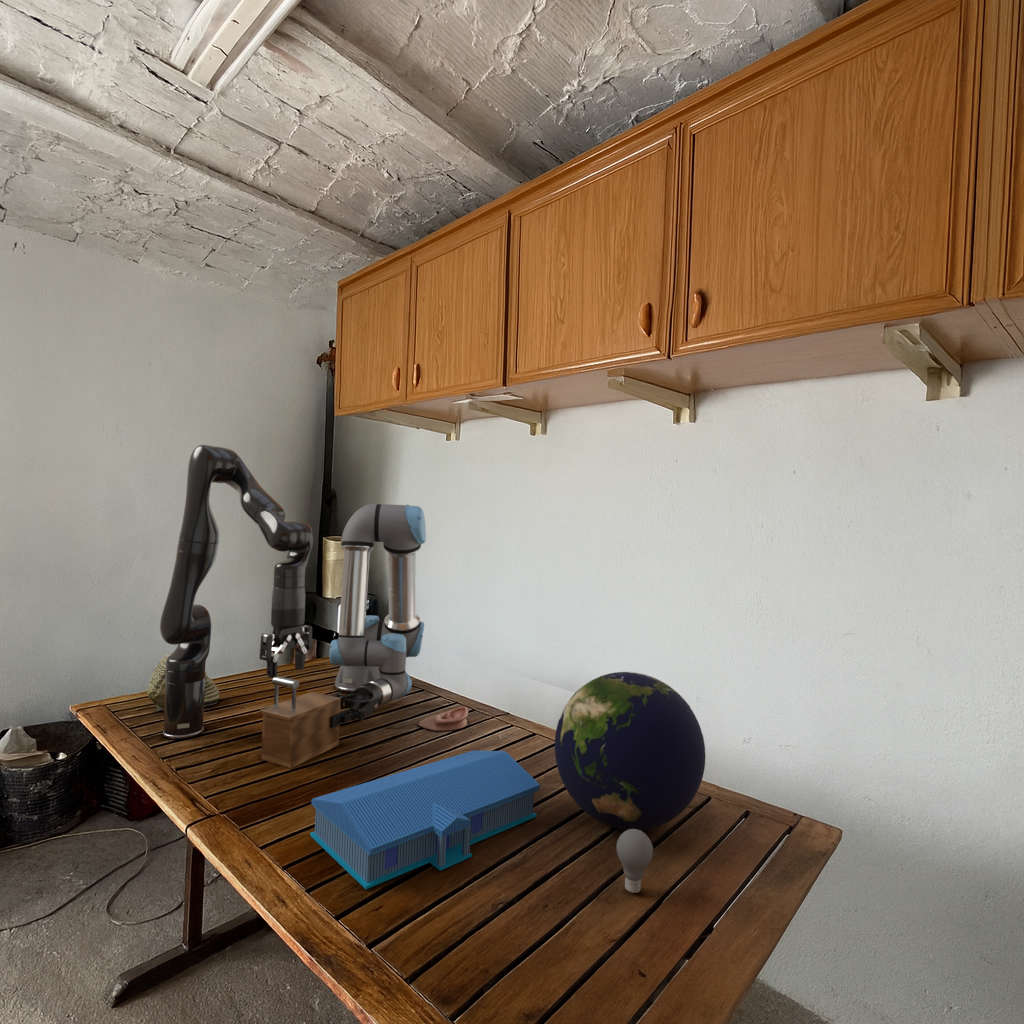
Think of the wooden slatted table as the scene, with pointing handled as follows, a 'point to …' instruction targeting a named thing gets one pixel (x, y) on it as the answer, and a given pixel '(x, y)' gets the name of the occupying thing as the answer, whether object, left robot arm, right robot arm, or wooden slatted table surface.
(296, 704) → the lid
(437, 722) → the anatomical model
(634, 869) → the light bulb
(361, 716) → the right robot arm
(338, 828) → the model building
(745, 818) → the wooden slatted table surface
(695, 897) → the wooden slatted table surface
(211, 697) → the fossil
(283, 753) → the chest
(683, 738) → the globe
